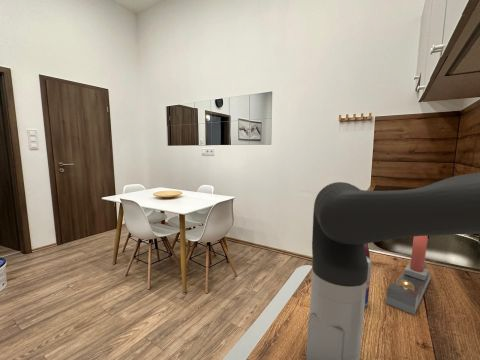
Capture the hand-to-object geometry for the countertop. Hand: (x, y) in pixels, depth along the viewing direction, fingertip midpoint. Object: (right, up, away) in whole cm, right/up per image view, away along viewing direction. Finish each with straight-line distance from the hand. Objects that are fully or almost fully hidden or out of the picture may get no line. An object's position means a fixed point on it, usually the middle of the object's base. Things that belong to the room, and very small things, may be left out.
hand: (478, 242), depth 63 cm
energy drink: (-31, -16, 0) cm, 35 cm away
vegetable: (-20, -12, +25) cm, 34 cm away
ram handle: (-9, -12, +10) cm, 18 cm away
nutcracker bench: (-14, -15, +6) cm, 21 cm away
